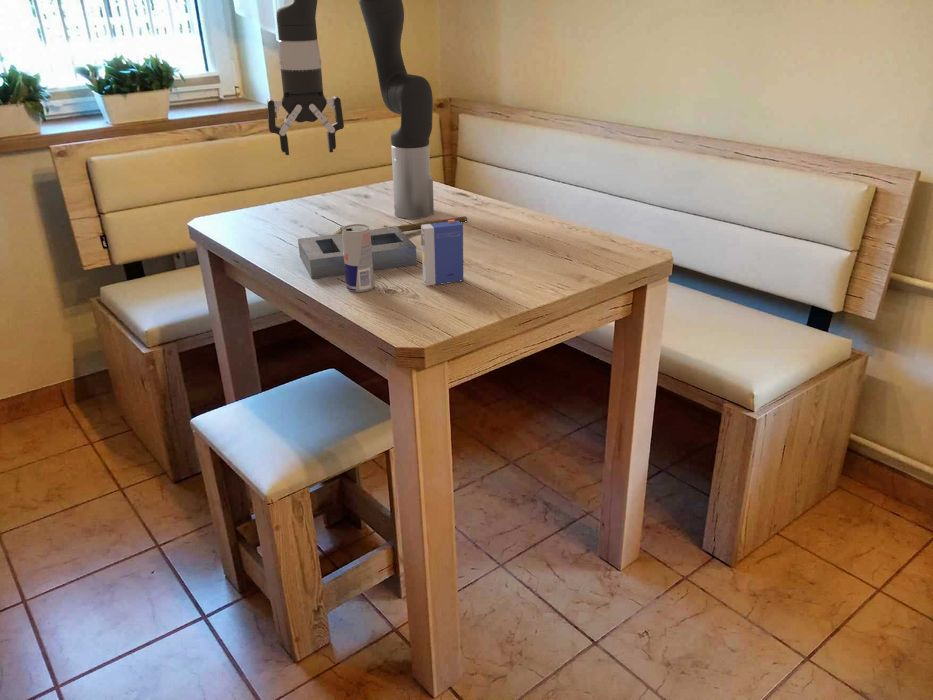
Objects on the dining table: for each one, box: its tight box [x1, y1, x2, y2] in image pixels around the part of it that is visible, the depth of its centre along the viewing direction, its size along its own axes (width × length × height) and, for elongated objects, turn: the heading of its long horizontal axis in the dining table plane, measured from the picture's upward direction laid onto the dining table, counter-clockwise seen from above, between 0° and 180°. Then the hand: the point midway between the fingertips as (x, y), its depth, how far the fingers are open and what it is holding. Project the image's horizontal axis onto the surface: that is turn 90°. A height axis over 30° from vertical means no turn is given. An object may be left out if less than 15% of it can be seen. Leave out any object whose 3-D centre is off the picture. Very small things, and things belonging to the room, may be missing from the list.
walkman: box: [420, 220, 464, 287], centre depth 145 cm, size 8×3×12 cm, turn 110°
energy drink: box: [342, 223, 375, 293], centre depth 143 cm, size 5×5×12 cm
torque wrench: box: [332, 215, 468, 235], centre depth 174 cm, size 5×35×5 cm
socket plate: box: [297, 226, 418, 280], centre depth 158 cm, size 22×14×4 cm, turn 111°
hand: (309, 153), depth 148 cm, fingers open, 8 cm apart
